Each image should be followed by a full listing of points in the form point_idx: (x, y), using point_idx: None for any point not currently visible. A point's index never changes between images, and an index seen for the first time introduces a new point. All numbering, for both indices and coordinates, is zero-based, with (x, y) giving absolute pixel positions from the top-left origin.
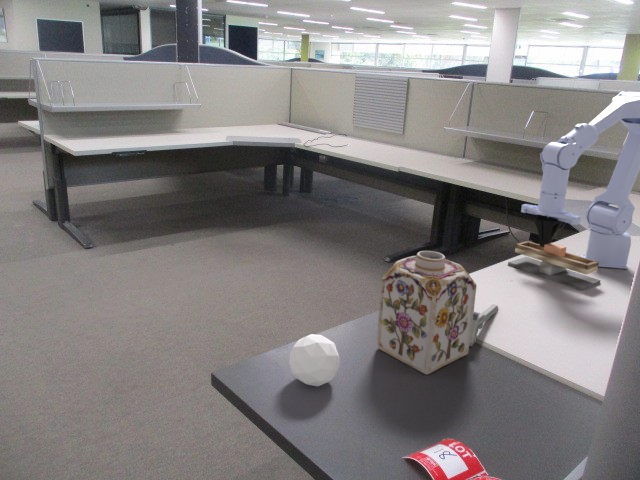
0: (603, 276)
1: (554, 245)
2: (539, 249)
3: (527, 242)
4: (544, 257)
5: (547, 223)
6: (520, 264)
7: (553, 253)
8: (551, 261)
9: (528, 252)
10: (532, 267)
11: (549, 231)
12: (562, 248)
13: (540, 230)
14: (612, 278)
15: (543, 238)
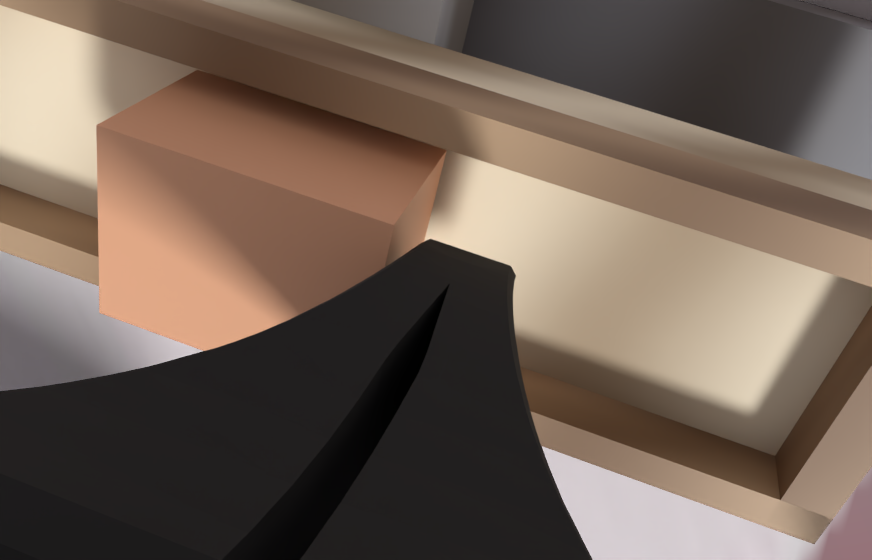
0: (62, 332)
1: (253, 283)
2: (577, 374)
3: (798, 478)
4: (399, 57)
5: (16, 461)
6: (791, 82)
7: (253, 120)
8: (286, 9)
9: (699, 151)
10: (609, 69)
11: (179, 371)
12: (103, 207)
13: (451, 432)
14: (3, 325)
15: (404, 307)
